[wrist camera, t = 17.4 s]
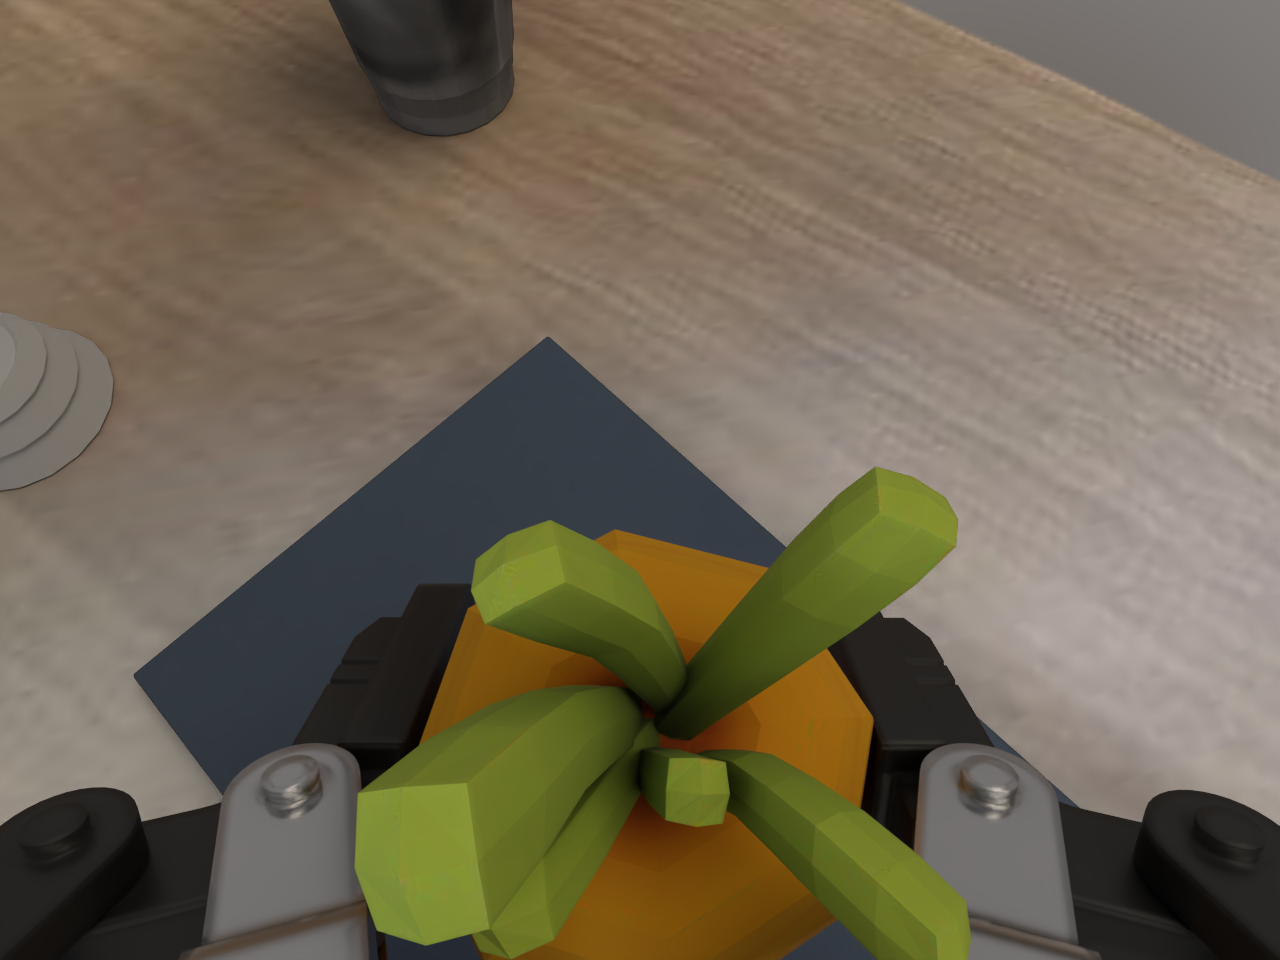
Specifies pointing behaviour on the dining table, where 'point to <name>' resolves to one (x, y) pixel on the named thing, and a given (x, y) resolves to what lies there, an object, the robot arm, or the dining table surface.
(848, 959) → the mat
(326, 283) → the dining table surface
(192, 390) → the dining table surface
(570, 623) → the carrot
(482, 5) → the beverage cup
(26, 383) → the chalice
